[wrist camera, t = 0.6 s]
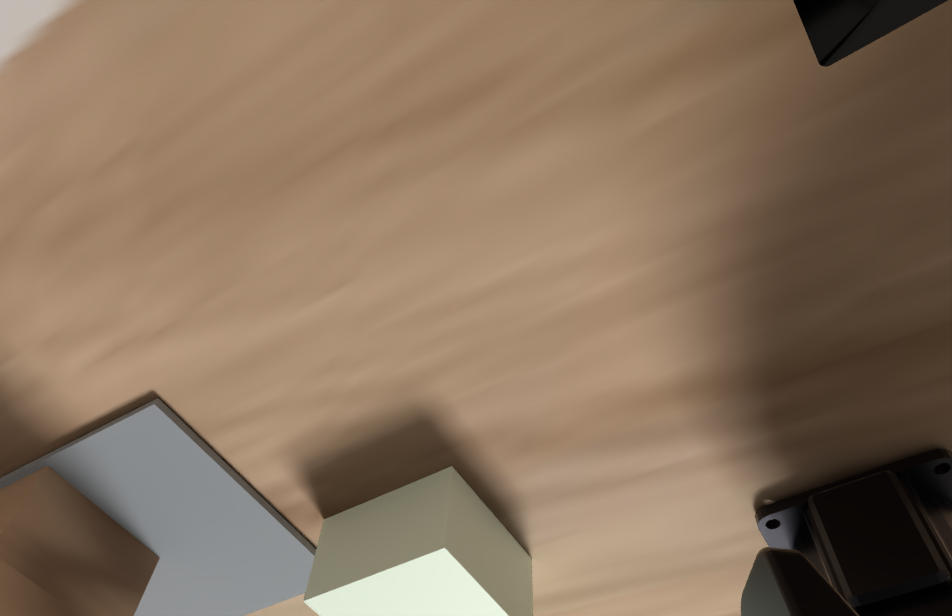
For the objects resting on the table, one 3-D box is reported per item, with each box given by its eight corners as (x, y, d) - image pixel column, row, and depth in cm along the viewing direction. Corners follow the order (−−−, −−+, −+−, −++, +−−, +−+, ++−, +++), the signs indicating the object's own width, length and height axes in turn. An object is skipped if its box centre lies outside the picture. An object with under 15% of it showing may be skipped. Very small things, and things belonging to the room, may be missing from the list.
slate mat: (341, 573, 30) (339, 580, 30) (116, 657, 34) (113, 663, 34) (157, 397, 26) (154, 403, 25) (-79, 517, 29) (-84, 524, 29)
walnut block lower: (159, 557, 30) (120, 645, 27) (58, 600, 31) (10, 687, 28) (47, 465, 27) (-11, 550, 24) (-57, 517, 29) (-122, 602, 26)
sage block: (531, 554, 29) (533, 642, 27) (410, 598, 31) (399, 684, 28) (452, 461, 27) (445, 547, 24) (325, 515, 29) (303, 601, 26)
